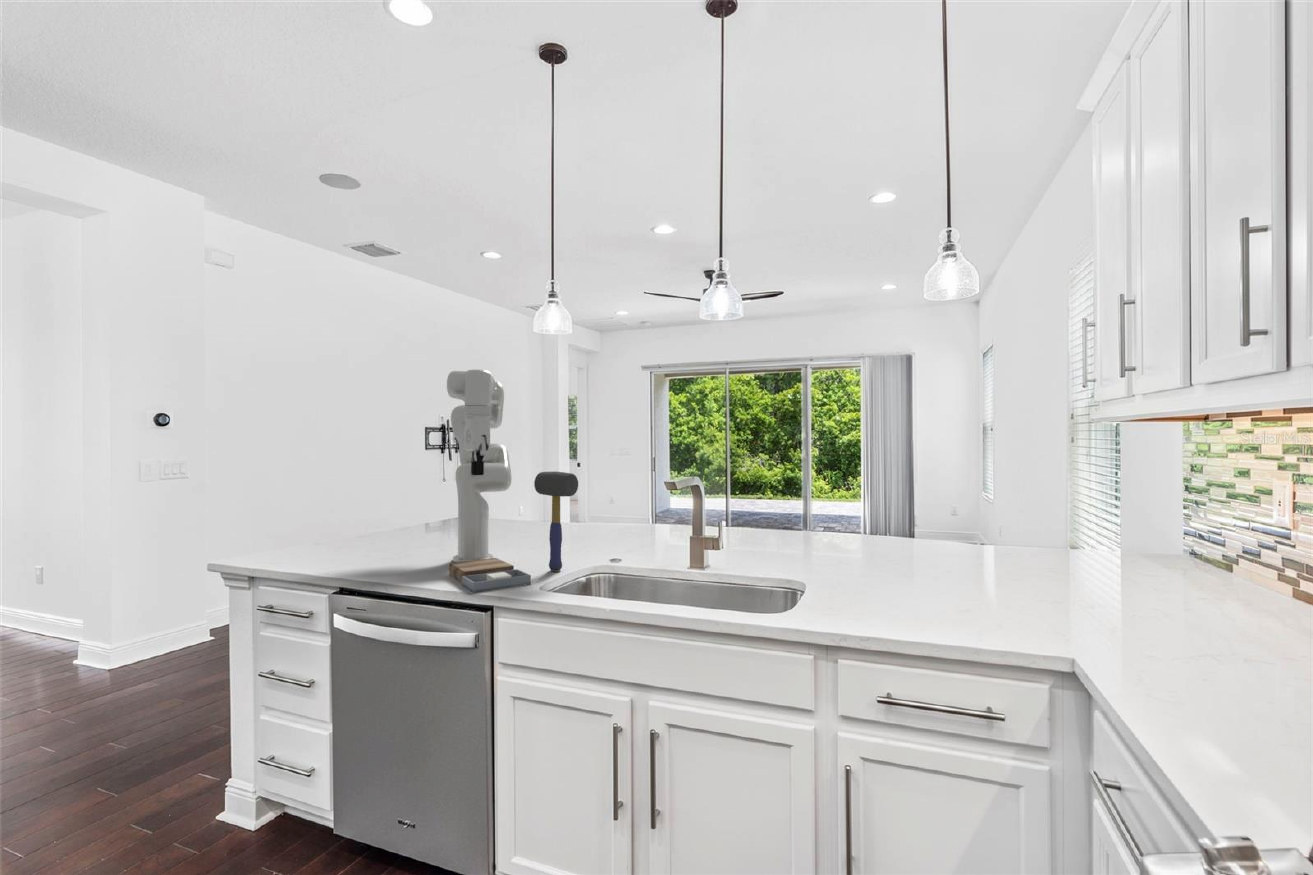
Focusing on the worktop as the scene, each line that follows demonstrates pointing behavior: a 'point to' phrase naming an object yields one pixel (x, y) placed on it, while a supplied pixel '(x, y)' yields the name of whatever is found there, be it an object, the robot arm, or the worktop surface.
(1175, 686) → the worktop surface
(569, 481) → the rubber mallet
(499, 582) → the tray
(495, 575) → the cream tile
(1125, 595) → the worktop surface
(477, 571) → the walnut board
